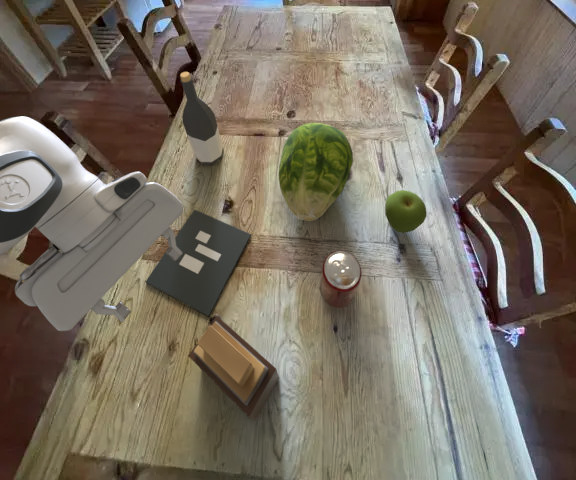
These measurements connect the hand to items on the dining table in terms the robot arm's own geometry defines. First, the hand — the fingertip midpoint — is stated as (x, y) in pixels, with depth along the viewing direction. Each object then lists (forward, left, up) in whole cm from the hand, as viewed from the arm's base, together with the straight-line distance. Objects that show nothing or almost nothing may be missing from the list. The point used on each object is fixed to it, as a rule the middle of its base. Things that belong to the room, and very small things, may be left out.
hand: (153, 284), depth 49 cm
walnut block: (-2, -12, -26) cm, 29 cm away
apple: (+37, -33, -26) cm, 56 cm away
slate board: (+12, +6, -26) cm, 29 cm away
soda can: (+18, -24, -26) cm, 39 cm away
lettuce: (+39, -11, -26) cm, 48 cm away
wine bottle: (+37, +20, -26) cm, 49 cm away
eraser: (-2, -12, -15) cm, 19 cm away
